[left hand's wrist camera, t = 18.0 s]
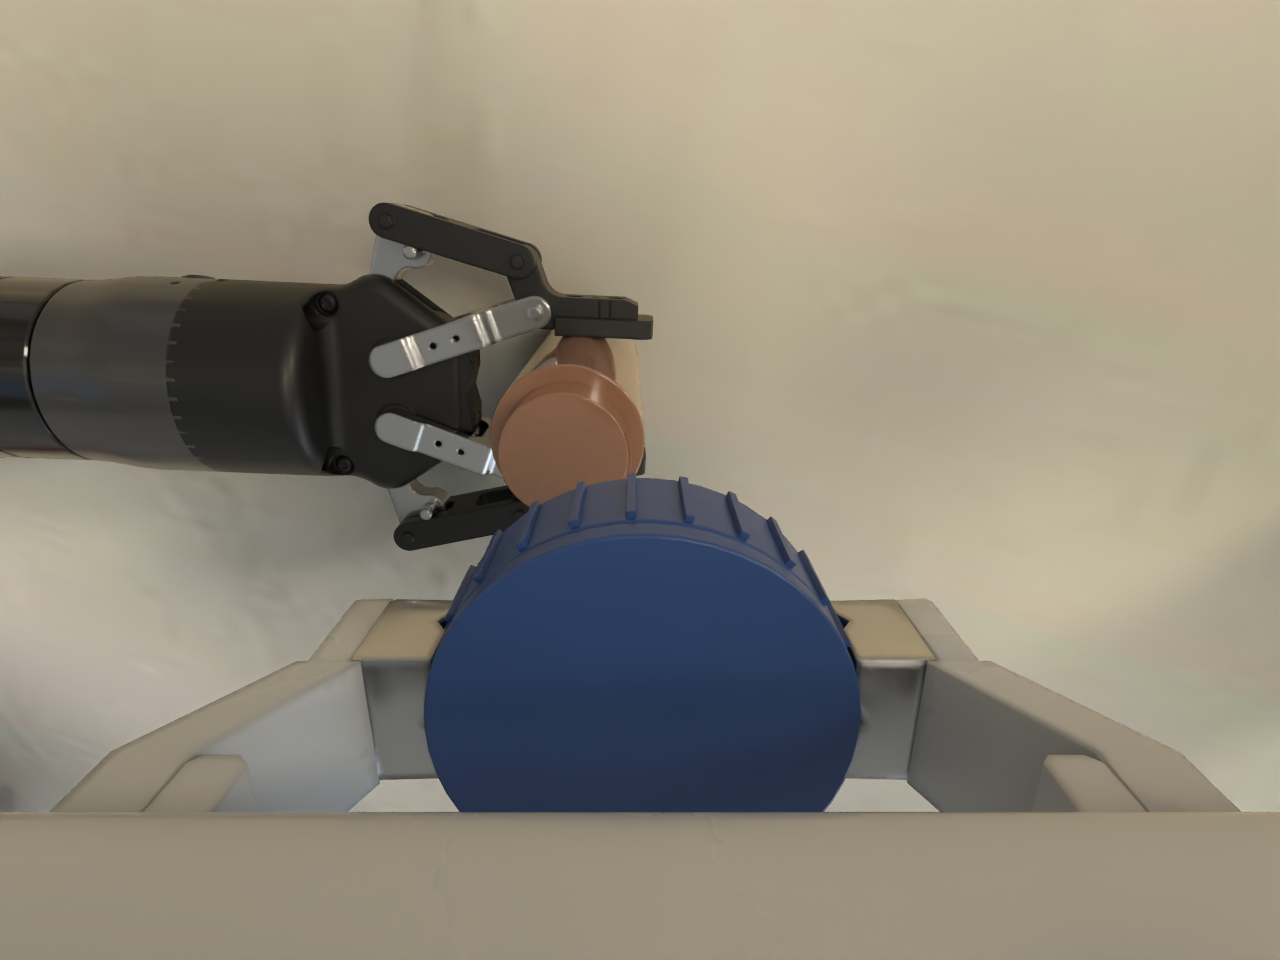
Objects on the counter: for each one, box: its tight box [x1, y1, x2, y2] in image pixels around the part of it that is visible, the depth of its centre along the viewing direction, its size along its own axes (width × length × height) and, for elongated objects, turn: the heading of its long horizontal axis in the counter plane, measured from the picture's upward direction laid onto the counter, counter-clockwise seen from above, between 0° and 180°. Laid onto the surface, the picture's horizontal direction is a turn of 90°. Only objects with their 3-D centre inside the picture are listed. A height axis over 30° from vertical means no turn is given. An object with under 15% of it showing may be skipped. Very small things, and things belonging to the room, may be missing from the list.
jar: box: [490, 330, 645, 507], centre depth 27 cm, size 5×5×15 cm
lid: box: [424, 473, 861, 812], centre depth 9 cm, size 5×5×2 cm
